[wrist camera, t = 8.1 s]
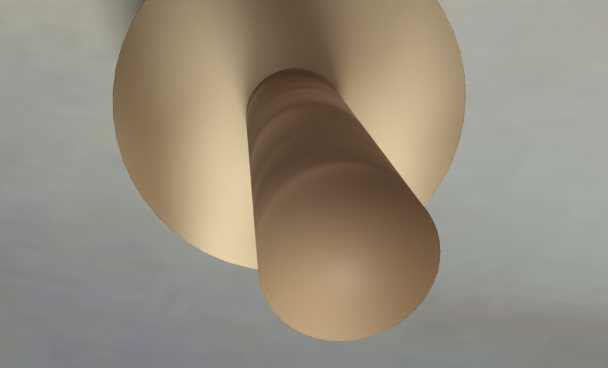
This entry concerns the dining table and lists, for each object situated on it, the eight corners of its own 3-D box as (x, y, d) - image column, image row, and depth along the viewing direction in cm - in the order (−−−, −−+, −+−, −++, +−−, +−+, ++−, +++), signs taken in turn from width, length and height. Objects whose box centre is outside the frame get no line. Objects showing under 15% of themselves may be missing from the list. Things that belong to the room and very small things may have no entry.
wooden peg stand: (178, 292, 25) (135, 566, 14) (63, -25, 20) (-152, 4, 9) (473, 217, 25) (663, 426, 14) (432, -114, 20) (678, -197, 9)
